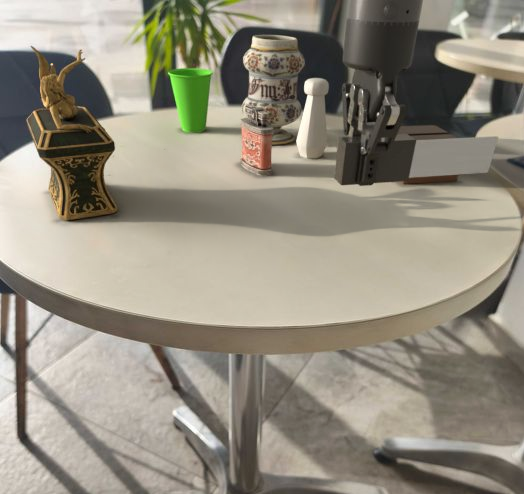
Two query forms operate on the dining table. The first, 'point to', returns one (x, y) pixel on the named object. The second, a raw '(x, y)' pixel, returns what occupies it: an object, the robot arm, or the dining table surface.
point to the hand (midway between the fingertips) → (360, 179)
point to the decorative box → (71, 148)
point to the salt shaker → (313, 120)
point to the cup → (191, 97)
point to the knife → (417, 158)
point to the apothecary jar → (274, 81)
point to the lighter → (256, 141)
